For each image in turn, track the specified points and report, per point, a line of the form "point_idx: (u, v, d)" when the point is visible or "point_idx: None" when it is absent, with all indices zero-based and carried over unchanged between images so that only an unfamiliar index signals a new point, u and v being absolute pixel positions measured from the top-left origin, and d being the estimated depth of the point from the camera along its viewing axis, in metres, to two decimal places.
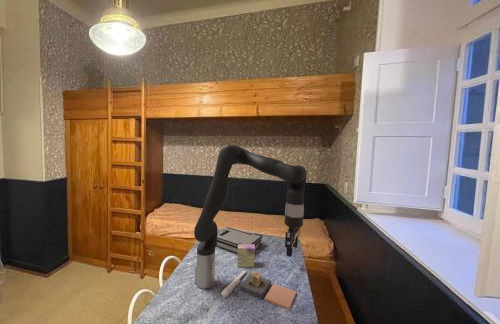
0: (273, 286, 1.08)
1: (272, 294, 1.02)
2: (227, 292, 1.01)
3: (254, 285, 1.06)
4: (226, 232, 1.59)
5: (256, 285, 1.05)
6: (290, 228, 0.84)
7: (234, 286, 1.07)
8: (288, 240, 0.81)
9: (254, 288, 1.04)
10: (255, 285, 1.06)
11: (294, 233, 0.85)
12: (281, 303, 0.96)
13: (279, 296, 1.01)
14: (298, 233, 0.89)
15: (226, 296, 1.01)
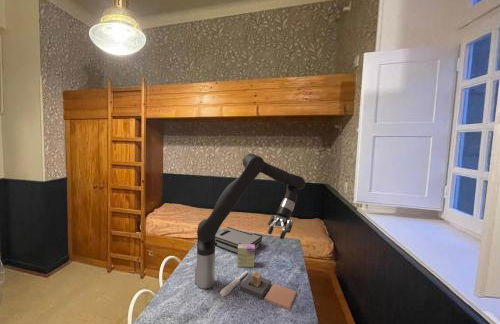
0: (273, 286, 1.08)
1: (272, 294, 1.02)
2: (225, 292, 1.02)
3: (254, 285, 1.06)
4: (226, 232, 1.59)
5: (256, 285, 1.05)
6: (288, 218, 1.13)
7: (233, 286, 1.07)
8: (290, 226, 1.09)
9: (254, 288, 1.04)
10: (255, 285, 1.06)
11: None
12: (281, 303, 0.96)
13: (279, 296, 1.01)
14: None
15: None
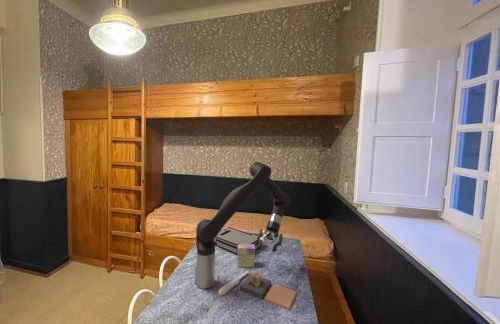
0: (273, 286, 1.08)
1: (272, 294, 1.02)
2: (224, 291, 1.02)
3: (254, 285, 1.06)
4: (227, 232, 1.59)
5: (256, 285, 1.05)
6: (277, 232, 1.23)
7: (233, 286, 1.07)
8: (281, 239, 1.19)
9: (254, 288, 1.04)
10: (255, 285, 1.06)
11: None
12: (281, 303, 0.96)
13: (279, 296, 1.01)
14: None
15: None
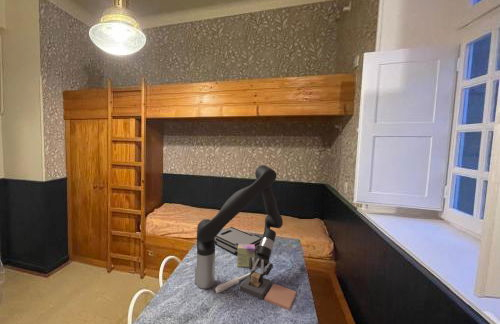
0: (273, 286, 1.08)
1: (272, 294, 1.02)
2: (220, 288, 1.04)
3: (254, 285, 1.06)
4: (228, 232, 1.60)
5: (256, 285, 1.05)
6: (268, 258, 1.12)
7: (231, 285, 1.08)
8: (270, 269, 1.08)
9: (254, 288, 1.04)
10: (255, 285, 1.06)
11: None
12: (281, 303, 0.96)
13: (279, 296, 1.01)
14: None
15: (219, 292, 1.03)
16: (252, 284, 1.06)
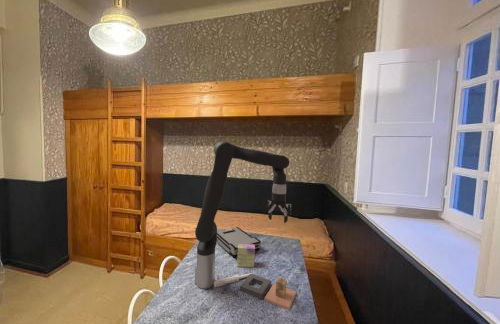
0: (273, 286, 1.08)
1: (272, 294, 1.02)
2: (218, 283, 1.08)
3: (280, 292, 1.00)
4: (231, 231, 1.61)
5: (282, 292, 0.99)
6: (285, 202, 1.13)
7: (229, 282, 1.10)
8: (290, 209, 1.12)
9: (254, 288, 1.04)
10: (281, 292, 1.00)
11: None
12: (281, 303, 0.96)
13: None
14: None
15: (216, 286, 1.07)
16: (277, 291, 1.00)
